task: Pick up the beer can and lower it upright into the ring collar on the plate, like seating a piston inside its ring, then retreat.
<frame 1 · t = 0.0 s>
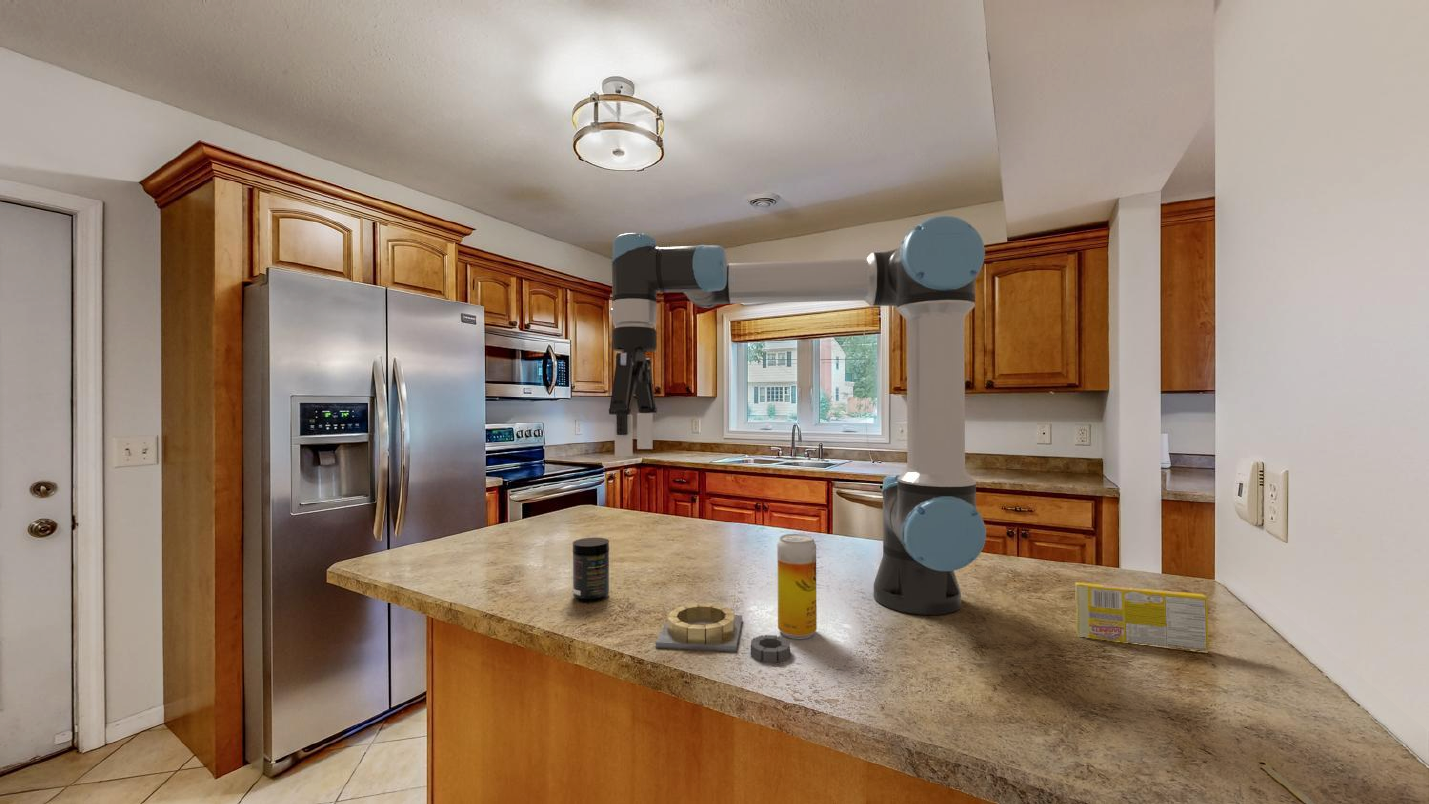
hand: (635, 452, 96), 28 cm above the counter, fingers open, 13 cm apart
beer can: (797, 633, 89), on the counter
candy box: (1139, 645, 85), on the counter
supplement container: (591, 598, 106), on the counter
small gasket: (770, 653, 82), on the counter
collar block: (701, 633, 89), on the counter
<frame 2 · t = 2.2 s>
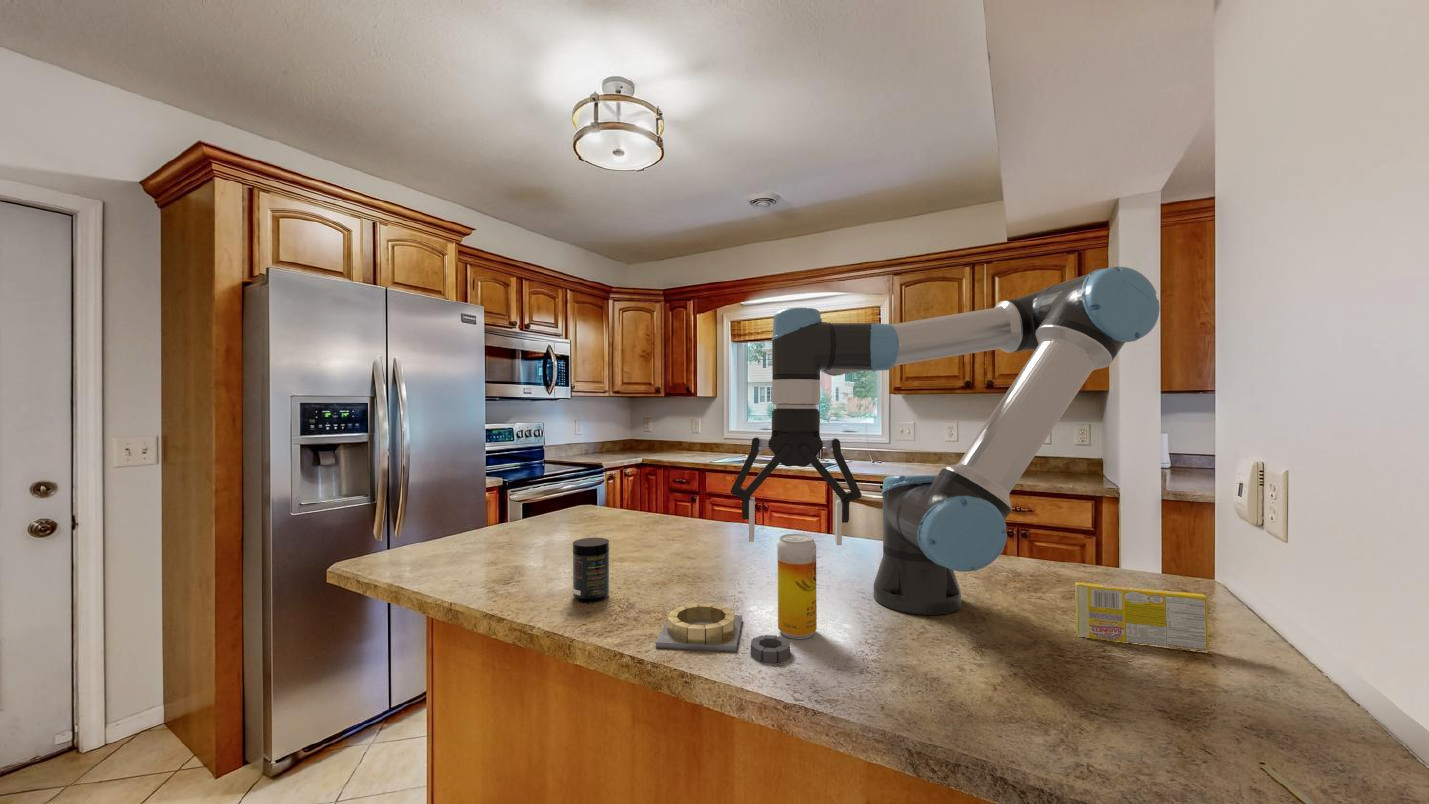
hand: (794, 541, 89), 14 cm above the counter, fingers open, 13 cm apart
nothing on the counter moved.
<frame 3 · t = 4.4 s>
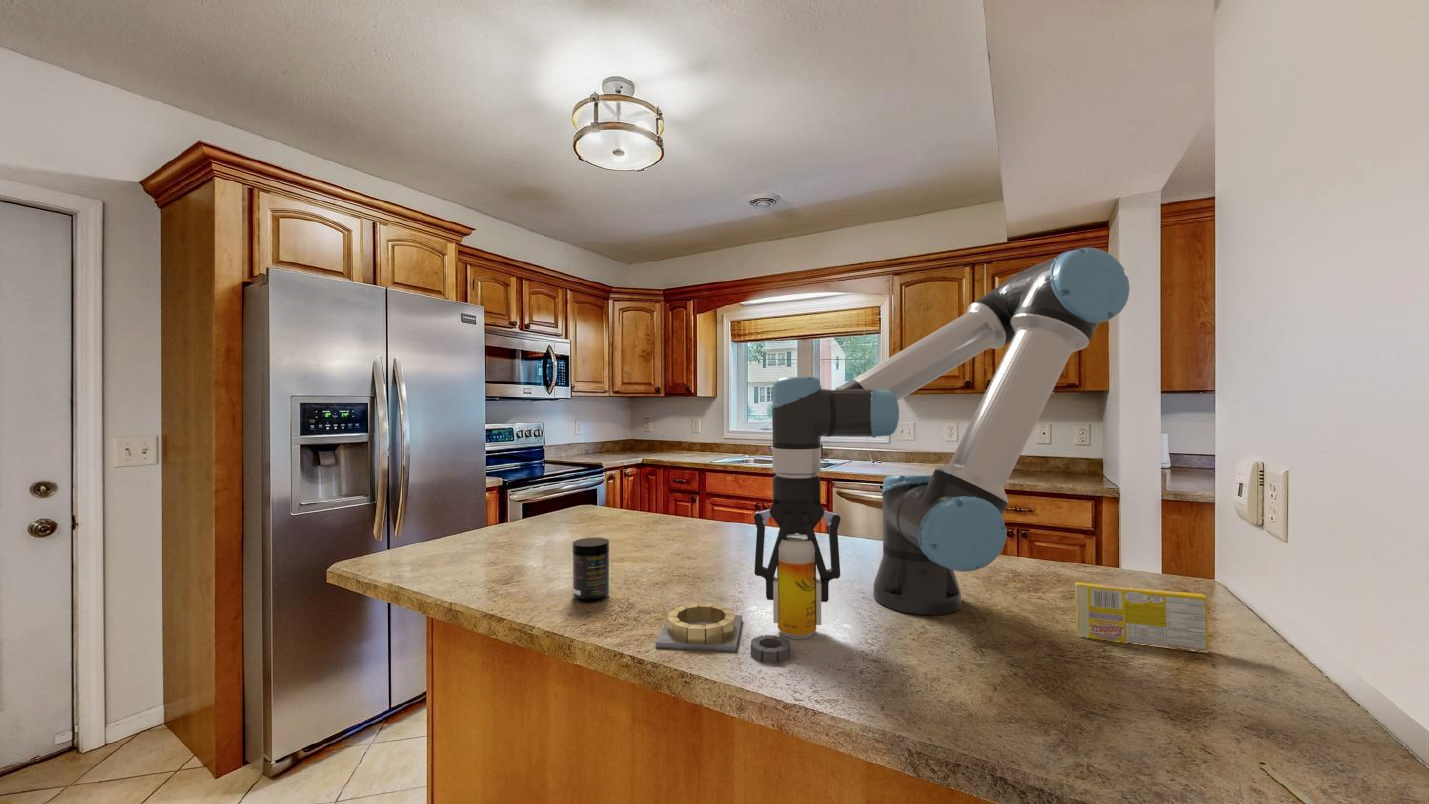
hand: (797, 620, 89), 2 cm above the counter, fingers closed on beer can, 6 cm apart
beer can: (796, 633, 89), on the counter, touching gripper
everything else where it was.
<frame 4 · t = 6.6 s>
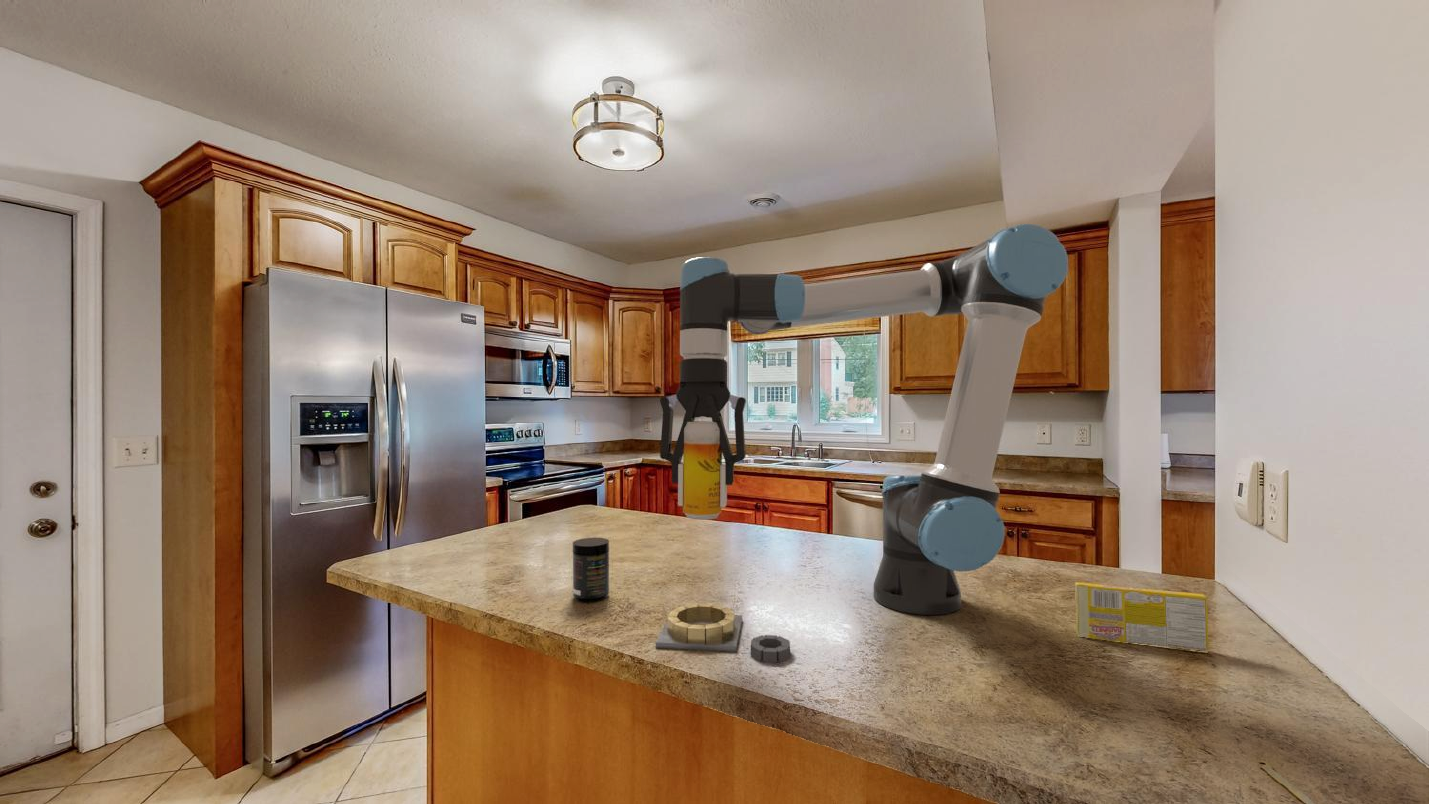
hand: (702, 504, 89), 20 cm above the counter, fingers closed on beer can, 6 cm apart
beer can: (702, 517, 89), point 18 cm above the counter, touching gripper
everything else where it was.
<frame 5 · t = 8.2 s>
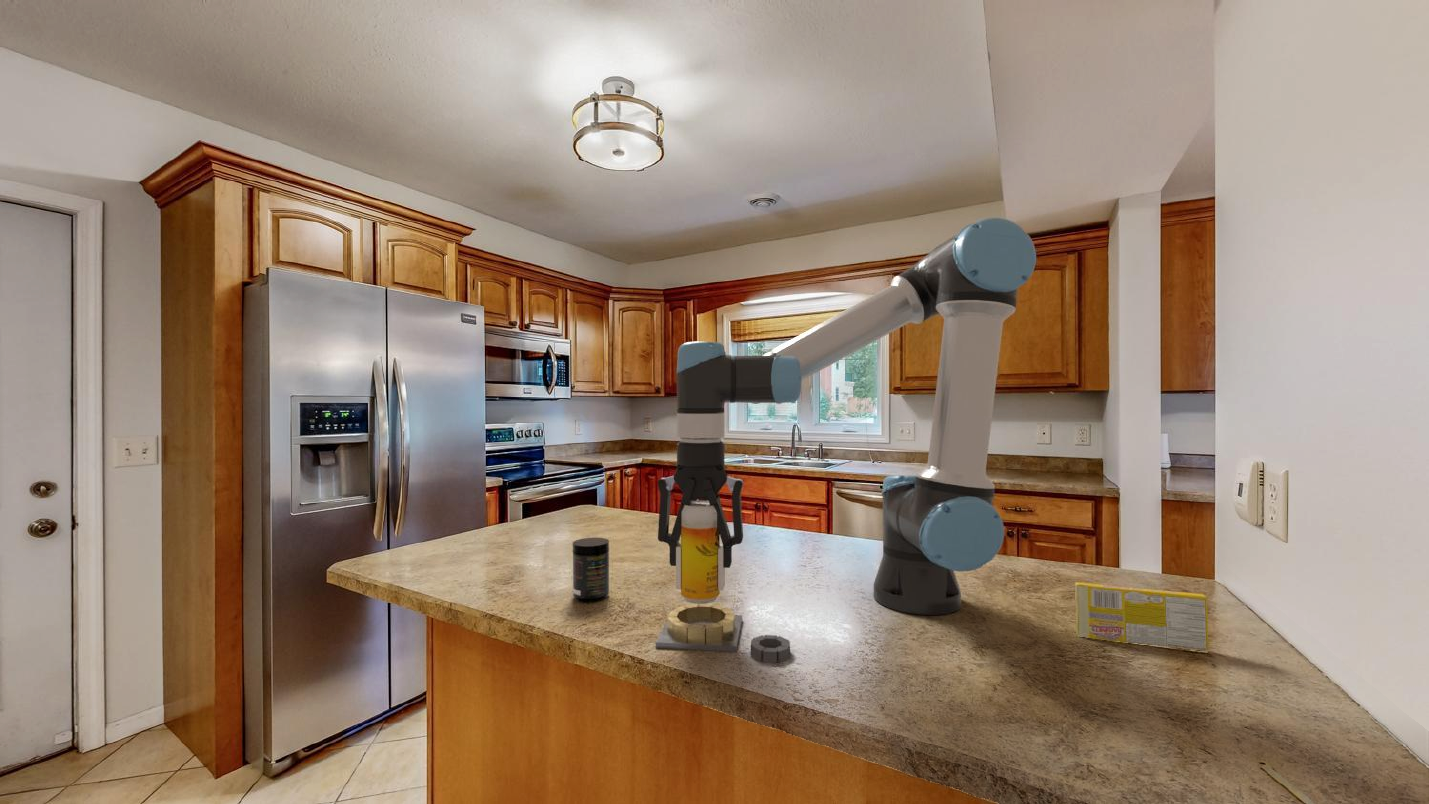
hand: (700, 586, 89), 7 cm above the counter, fingers closed on beer can, 6 cm apart
beer can: (700, 599, 89), point 5 cm above the counter, touching gripper
everything else where it was.
when the fingers open (4 cm above the counter, at t = 9.2 s): beer can drops 1 cm, resting on collar block.
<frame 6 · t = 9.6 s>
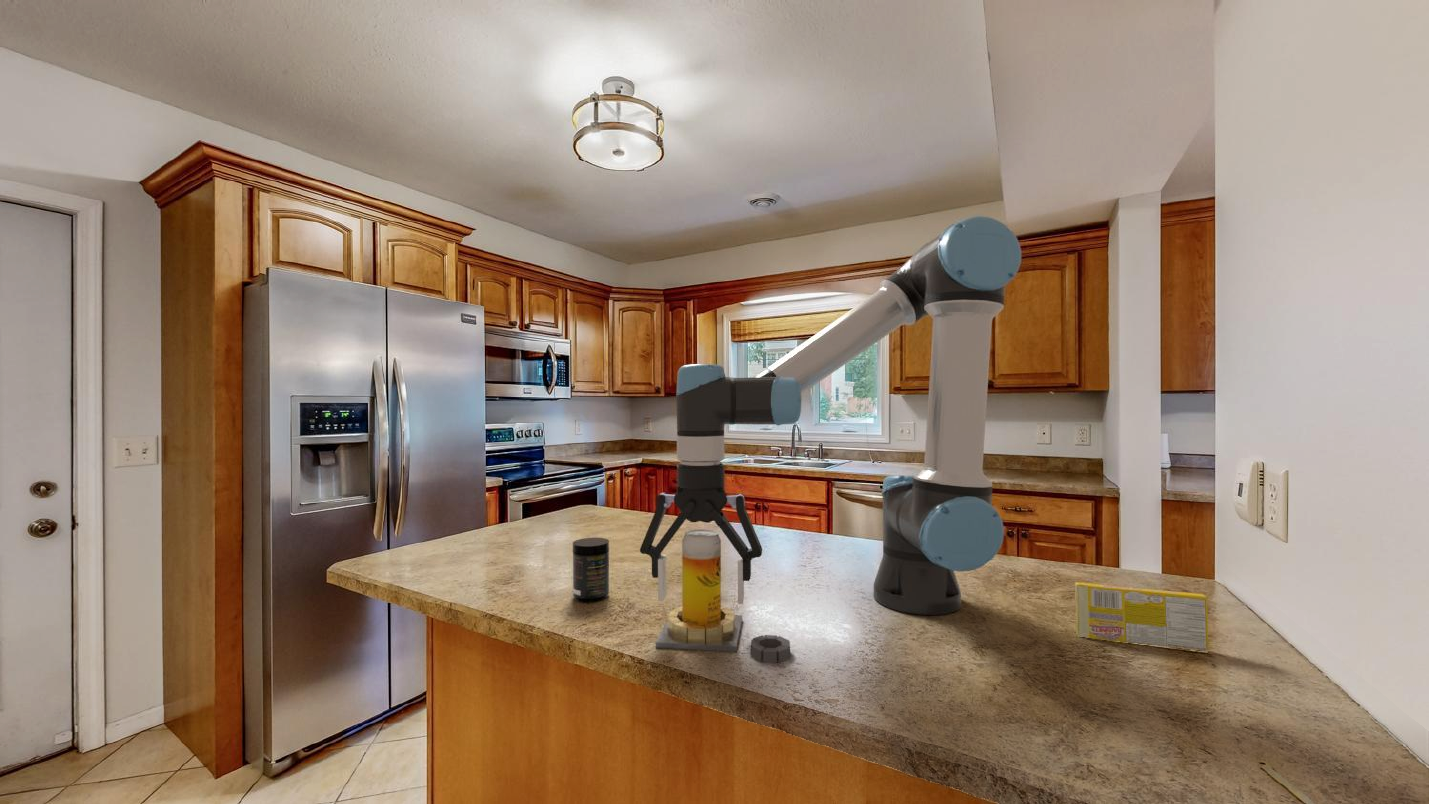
hand: (701, 599, 89), 5 cm above the counter, fingers open, 12 cm apart
beer can: (701, 629, 89), point 1 cm above the counter, touching collar block
everything else where it was.
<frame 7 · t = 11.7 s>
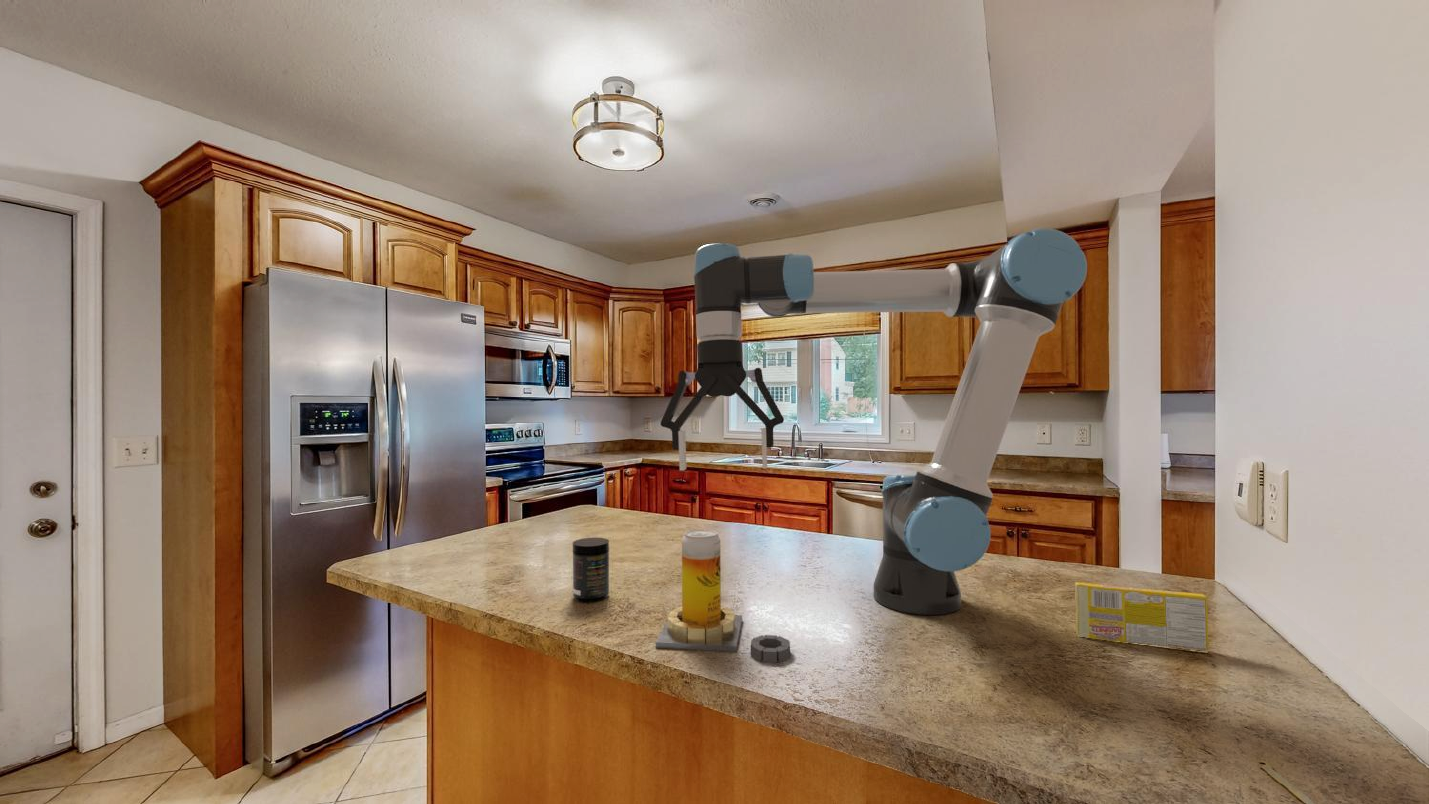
hand: (723, 468, 93), 25 cm above the counter, fingers open, 13 cm apart
nothing on the counter moved.
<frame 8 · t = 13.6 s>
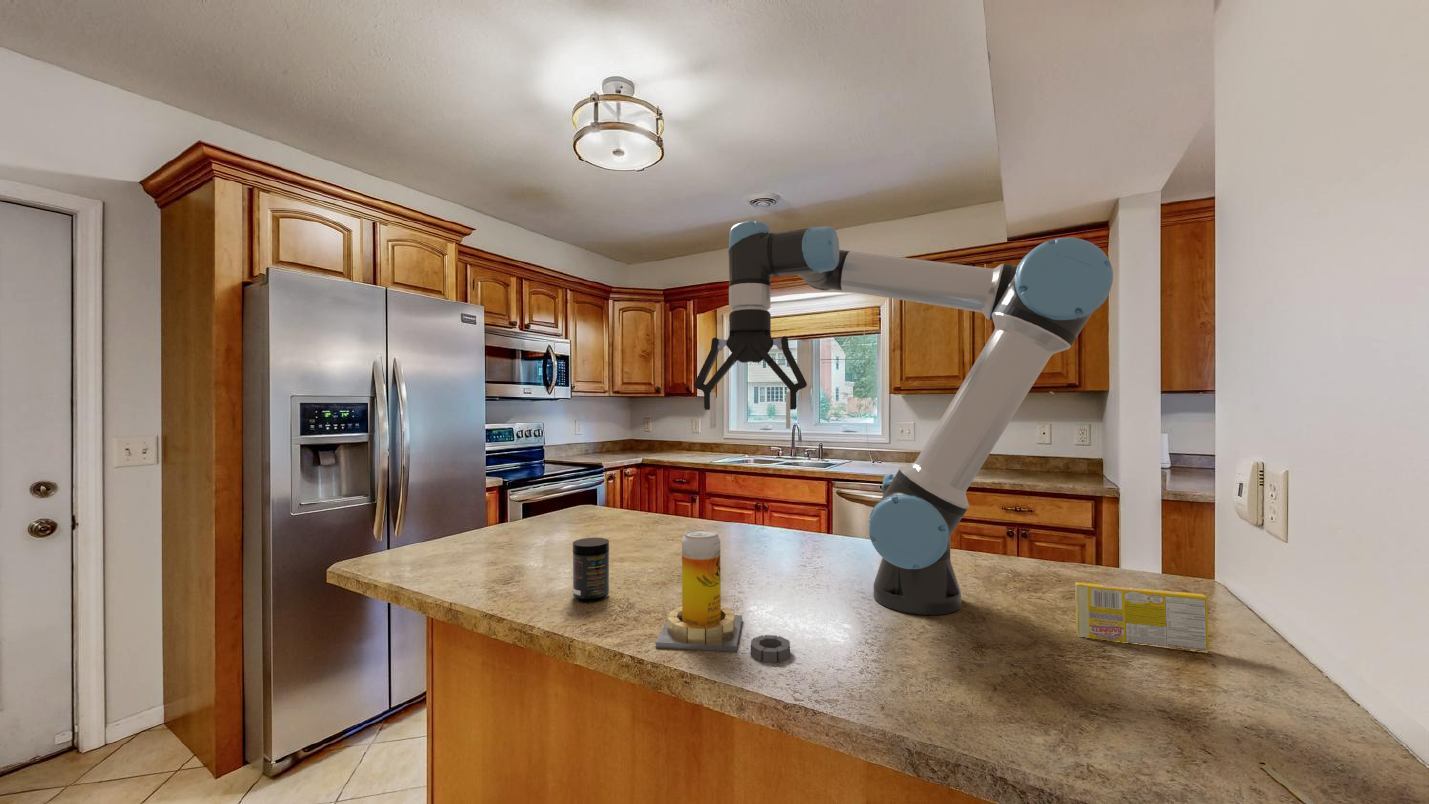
hand: (750, 428, 102), 32 cm above the counter, fingers open, 13 cm apart
nothing on the counter moved.
at the end: beer can 0.0 cm off-centre on the collar block, point 0.6 cm above the collar block's base; beer can tilted 0°; the gripper is holding nothing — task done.
